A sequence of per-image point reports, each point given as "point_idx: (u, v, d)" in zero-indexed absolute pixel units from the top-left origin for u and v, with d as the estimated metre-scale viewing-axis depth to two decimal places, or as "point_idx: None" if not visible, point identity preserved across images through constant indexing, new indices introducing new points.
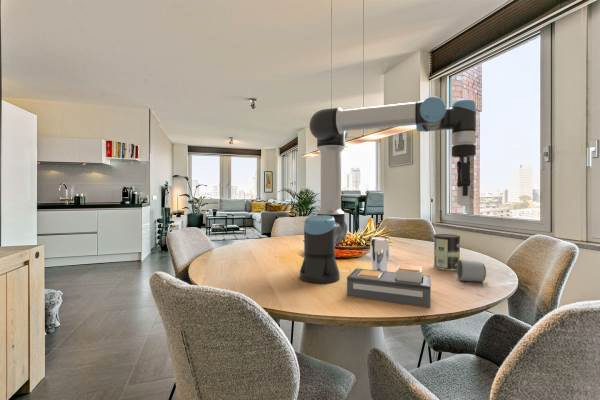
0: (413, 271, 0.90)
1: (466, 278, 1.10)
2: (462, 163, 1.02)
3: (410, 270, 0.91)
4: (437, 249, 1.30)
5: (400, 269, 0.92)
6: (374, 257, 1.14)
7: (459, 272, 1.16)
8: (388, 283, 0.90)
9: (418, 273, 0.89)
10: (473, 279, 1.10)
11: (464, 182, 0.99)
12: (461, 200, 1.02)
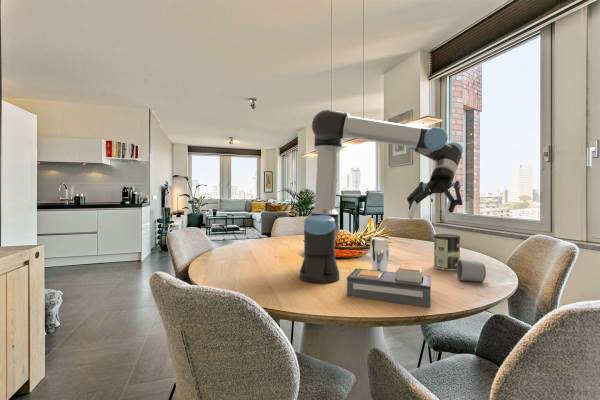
0: (413, 271, 0.90)
1: (466, 278, 1.10)
2: (458, 186, 1.05)
3: (410, 270, 0.91)
4: (437, 249, 1.30)
5: (400, 269, 0.92)
6: (374, 257, 1.14)
7: (459, 272, 1.16)
8: (388, 283, 0.90)
9: (418, 273, 0.89)
10: (473, 279, 1.10)
11: (461, 200, 1.00)
12: (447, 212, 0.99)
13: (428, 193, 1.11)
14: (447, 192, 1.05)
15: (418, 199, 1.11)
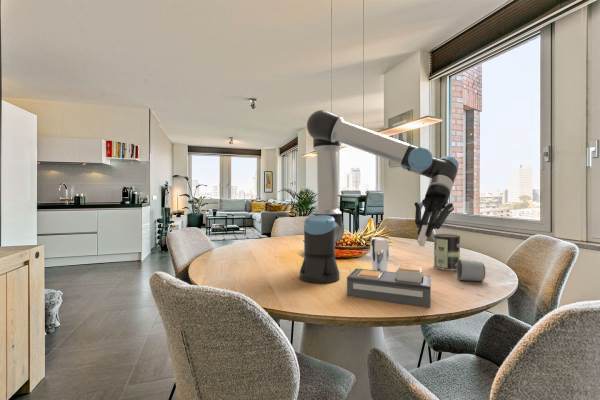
0: (413, 271, 0.90)
1: (465, 277, 1.11)
2: (448, 209, 1.00)
3: (410, 270, 0.91)
4: (437, 249, 1.30)
5: (400, 269, 0.92)
6: (374, 257, 1.14)
7: (459, 271, 1.17)
8: (388, 283, 0.90)
9: (418, 273, 0.89)
10: (472, 278, 1.10)
11: (438, 224, 0.98)
12: (423, 236, 0.97)
13: (429, 212, 1.04)
14: (433, 213, 1.01)
15: (425, 221, 1.02)
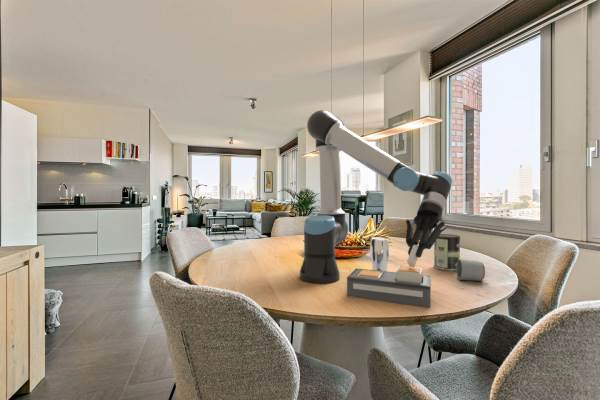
0: (413, 272, 0.90)
1: (465, 277, 1.11)
2: (439, 228, 0.97)
3: (410, 271, 0.91)
4: (437, 249, 1.30)
5: (400, 270, 0.92)
6: (374, 257, 1.14)
7: (458, 271, 1.17)
8: (388, 283, 0.90)
9: (418, 274, 0.89)
10: (472, 278, 1.11)
11: (429, 244, 0.95)
12: (413, 257, 0.94)
13: (421, 231, 1.01)
14: (424, 232, 0.98)
15: (416, 240, 0.99)
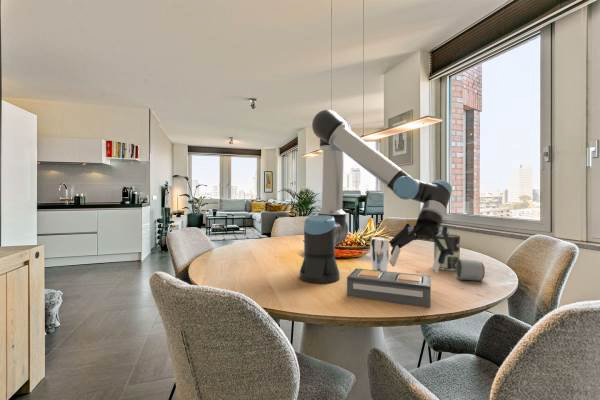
0: (413, 282, 0.90)
1: (465, 277, 1.11)
2: (446, 232, 0.97)
3: (410, 280, 0.91)
4: (437, 249, 1.30)
5: (400, 279, 0.92)
6: (374, 257, 1.14)
7: (458, 271, 1.18)
8: (388, 283, 0.90)
9: None
10: (472, 278, 1.11)
11: (452, 250, 0.92)
12: (436, 263, 0.91)
13: (413, 238, 1.03)
14: (436, 240, 0.96)
15: (401, 244, 1.03)
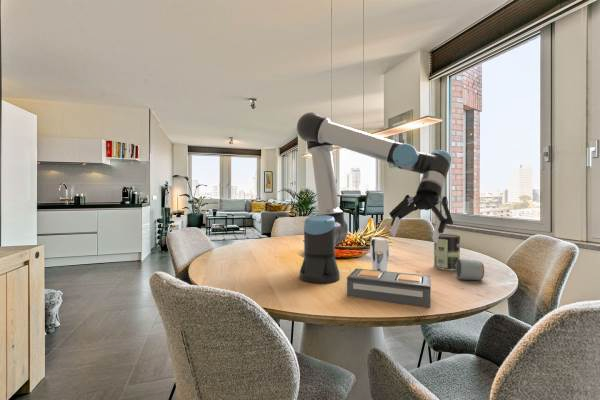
0: (413, 282, 0.90)
1: (465, 277, 1.12)
2: (446, 202, 0.98)
3: (410, 280, 0.91)
4: (437, 249, 1.30)
5: (400, 279, 0.92)
6: (374, 257, 1.14)
7: (458, 271, 1.18)
8: (388, 283, 0.90)
9: None
10: (472, 278, 1.12)
11: (451, 220, 0.93)
12: (436, 233, 0.92)
13: (413, 209, 1.04)
14: (435, 210, 0.98)
15: (401, 215, 1.04)
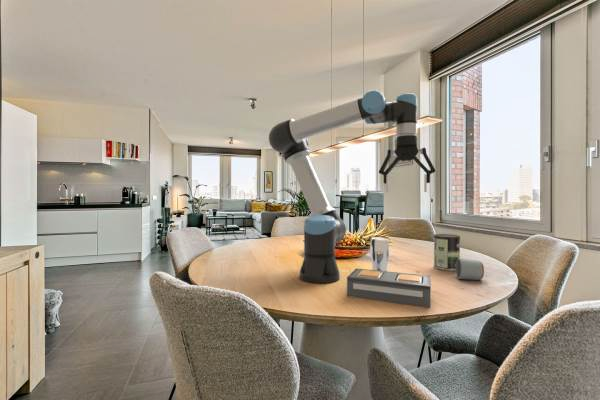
0: (413, 282, 0.90)
1: (464, 276, 1.12)
2: None
3: (410, 280, 0.91)
4: (437, 249, 1.30)
5: (400, 279, 0.92)
6: (374, 257, 1.14)
7: (458, 270, 1.18)
8: (388, 283, 0.90)
9: None
10: (471, 277, 1.12)
11: None
12: (426, 186, 1.12)
13: (397, 162, 1.18)
14: (419, 163, 1.13)
15: (389, 171, 1.18)
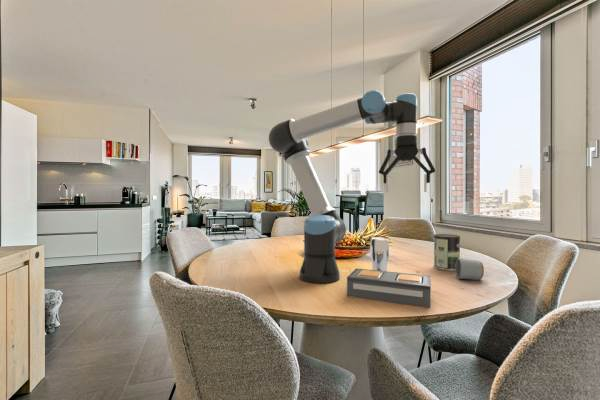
0: (413, 282, 0.90)
1: (464, 276, 1.13)
2: None
3: (410, 280, 0.91)
4: (437, 249, 1.30)
5: (400, 279, 0.92)
6: (374, 257, 1.14)
7: (457, 270, 1.19)
8: (388, 283, 0.90)
9: None
10: (471, 277, 1.12)
11: None
12: (426, 186, 1.12)
13: (397, 162, 1.18)
14: (419, 163, 1.13)
15: (389, 171, 1.18)
